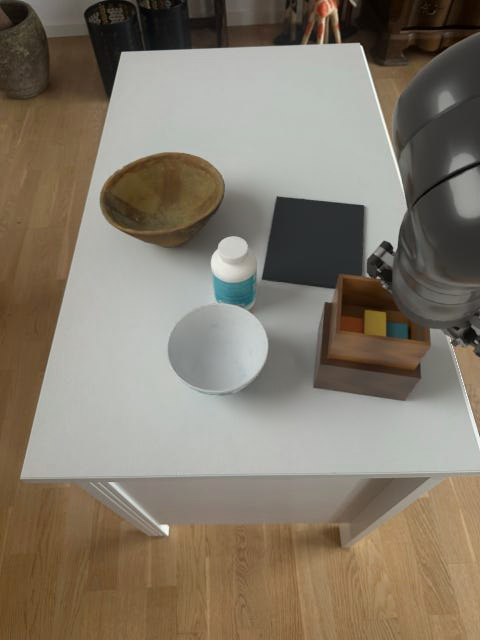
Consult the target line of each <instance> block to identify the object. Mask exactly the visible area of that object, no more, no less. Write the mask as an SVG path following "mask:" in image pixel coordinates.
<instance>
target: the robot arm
mask: <svg viewBox="0 0 480 640" xmlns="http://www.w3.org/2000/svg"><path fill="white" fill-rule="evenodd" d="M391 136H392V142H393V147H394V152H395V157H396V161H397V165H398V169H399V174H400V179H401V183H402V189H403V194H404V198H405V204H406V211H405V213H404V215H403V218H402V220H401V223H400V226H399V230H398V235H397V236H398V237H397V247H396V250H395V251H394V245H392V243H391V242H389V241H387V240H383V241H382V242H381V243H380V244H379V245H378V246H377V248H375V250H374V251H373V252H372V253H371V254H370V256H369V257H368V258H367V259H366V273H367V275H368V277H370V278H374V279H376V278H378V279H381V280H382V282H381V283H380V284H381V285H382V287H383V288H384V289H385V290H386V296H388V297H389V298H390V299H392V298H394V301H395V304H396V306H397V307H398V309H399V310H400V312H401V313H402V314H403V315H404V316H405V317H406V318H407V319H409V320H410V321H412V322H413V323H415V324H417V325H420V326H422V327H426V328H430V330H431V329H432V330H440V331H441V332H442V333H443V334H444V335H446V336H447V337H449V338H451V339H452V340H451V341H450V342H449V344H451V346H453V347H455V348H456V347H457V346H459V347H461V348H463V349H465V348H468V346H471V347H472V348H474V349H473V350H472V352H473V353H474V355H475V356H476V357H478V358H480V31H478V32H476V33H473V34H472V35H470V36H468V37H465V38H463V39H462V40H460V41H458V42H456V43H454V44H452V45H450V46H449V47H447V48H446V49H444V50H443V51H441V53H439V54H437V55H436V56H435V57H433V58H432V59H431V60H429V62H427V63H426V64H425V65H424V66H423V67H422V68H421V69H420V70H418V72H417V73H415V75H414V76H413V77H412V78H411V79H410V81H409V82H408V83H407V84H406V85H405V86H404V88H403V89H402V91H401V93H400V94H399V96H398V98H397V100H396V102H395V104H394V108H393V111H392V117H391Z"/></svg>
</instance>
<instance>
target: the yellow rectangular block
mask: <svg viewBox="0 0 480 640" xmlns="http://www.w3.org/2000/svg"><path fill="white" fill-rule="evenodd" d="M363 334H371V335H378V336H386V312H379V311H371V310H365V311H364V314H363Z"/></svg>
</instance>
